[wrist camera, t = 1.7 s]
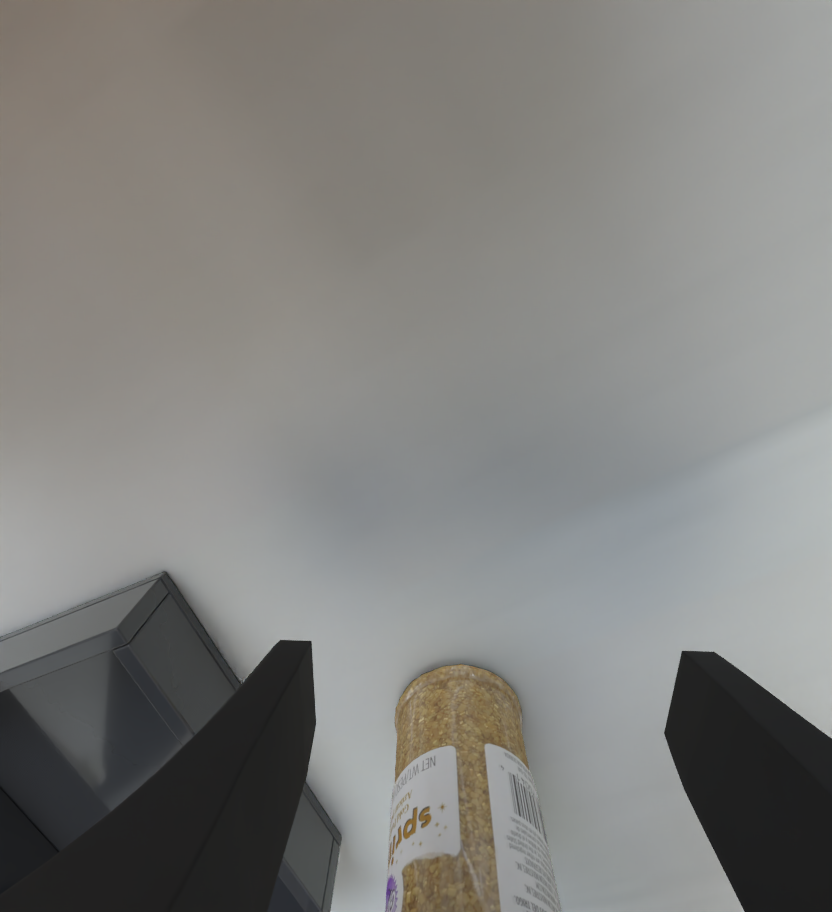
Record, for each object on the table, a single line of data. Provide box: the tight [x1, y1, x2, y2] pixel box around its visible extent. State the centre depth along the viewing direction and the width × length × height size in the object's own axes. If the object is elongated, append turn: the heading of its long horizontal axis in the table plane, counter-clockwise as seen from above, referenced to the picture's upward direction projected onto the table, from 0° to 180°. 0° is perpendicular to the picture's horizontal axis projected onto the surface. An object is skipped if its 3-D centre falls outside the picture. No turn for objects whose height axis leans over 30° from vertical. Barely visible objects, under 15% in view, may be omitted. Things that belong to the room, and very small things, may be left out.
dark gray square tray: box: [0, 572, 341, 912], centre depth 19 cm, size 13×11×3 cm
